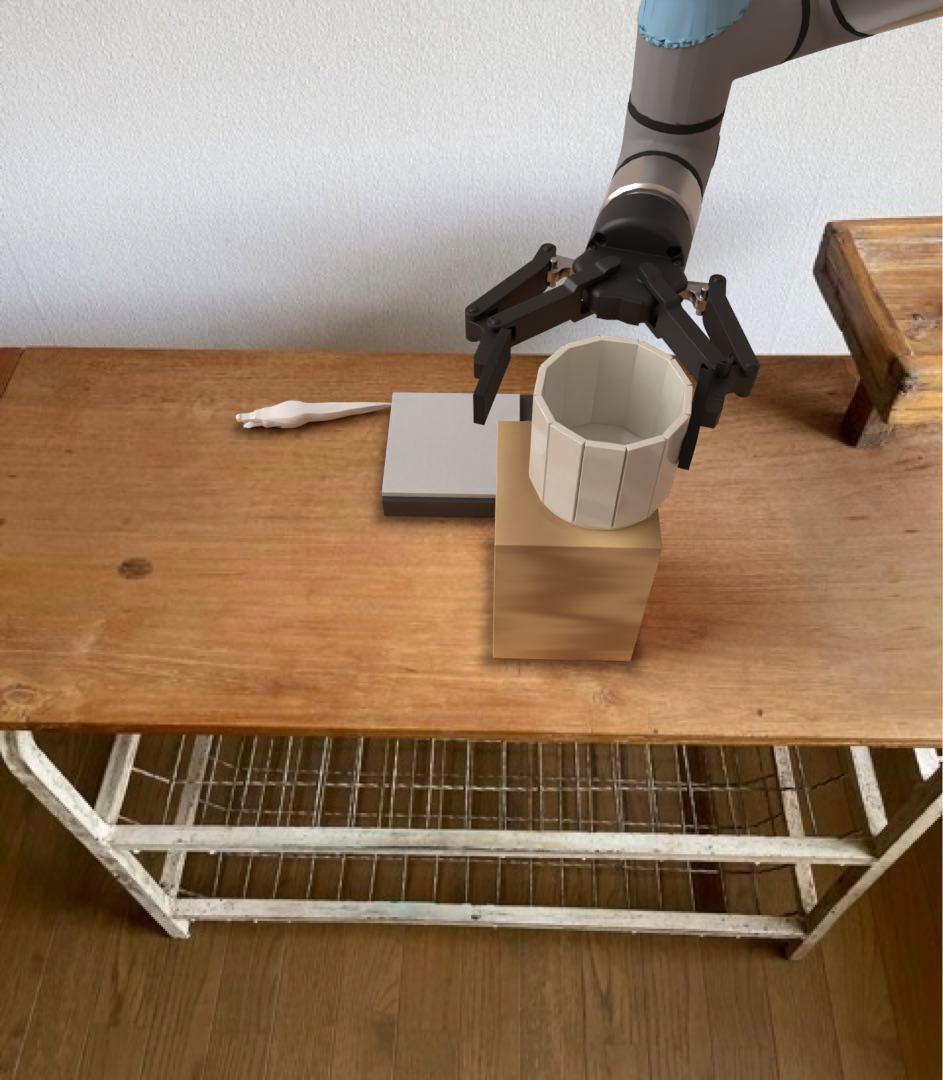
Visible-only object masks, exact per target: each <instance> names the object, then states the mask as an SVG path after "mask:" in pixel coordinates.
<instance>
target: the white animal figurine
mask: <svg viewBox="0 0 943 1080" xmlns="http://www.w3.org/2000/svg"><path fill="white" fill-rule="evenodd" d="M391 405H392V402H382V401H381V402H375V401H352V402H351V401H350V402H349V401H347V402H346V401H345V402H344V401H343V402H342V401H341V402H340V401H339V402H338V401H328V402H327V401H326V402H325V401H324V402H304V401H302V400H292V399H291V400H290V399H289V400H286V401H285V400H284V401H283V402H280V403H277V404H275V405H272V406H266V407H263V408H258V409H254V410H253V411H251V412H244V413H243V412H242V413H237V414H236V415H235V420H236V421H237V422H238V423H243V429H252V428H255V427H264V428H266V429H267V428H273V427H274V428H280V429H295V428H300V427H302V426H304V425H306V424H308V423H310V422H311V423H312V422H323V421H333V420H336V419H341V418H345V417H349V416H354V415H362V414H367V413H372V412H375V411H379V410H383V409H386V408H389V407H390V408H391Z"/></svg>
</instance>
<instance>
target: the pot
mask: <svg viewBox="0 0 943 1080" xmlns="http://www.w3.org/2000/svg"><path fill="white" fill-rule="evenodd" d="M693 392H694V386H693V383H692V381H691V380H690V378H689V377H688V375H687V374H686V373H685V370H683V368H682V366H681V365H680V364H679V362H678V360H677V358H674V356H672V355H671V354H669V353H667V352H665V351H663V350H662V349H659V348H657V347H656V346H654V345H652V344H651V343H648V342H646V341H644V340H641V341H640V339H639V338H630V337H622V336H614V335H605V334H602V335H594V336H590V337H587V338H583V339H579V340H576V341H572V342H568V343H567V342H566V343H565V345H561V346H560V347H559V348H558V349H557V350H556V351H555V352H553V354H552V355H550V356H549V357H548V358H546V359H545V360H544V361H543V362H542V363H541V364H540V366H539V367H538V370H537V375H536V381H535V385H534V390H533V394H532V395H533V412H532V429H531V445H530V462H529V478H530V480H531V482H532V484H533V486H534V488H535V490H536V492H537V494H538V496H539V498H540V500H541V502H542V503H544V505H545V506H546V507H547V508H548V509H549V510H550V511H551V512H553V513H554V514H555V515H557V516H558V517H559V518H561V519H563V520H565V521H566V522H569V523H571V524H573V525H576V526H579V527H582V528H587V529H592V530H616V529H622V528H626V527H629V526H632V525H635V524H637V523H639V522H641V521H643V520H645V519H646V518H647V517H648V518H649V517H650V516H651V515H652V514H653V513H654V511H655V510H656V509H657V508H658V509H659V508H660V507H661V505H663V503H664V502H665V501H666V500H667V499H668V498H669V496H670V494H671V490H672V486H673V484H674V479H675V475H676V472H677V469H678V468H677V466H678V462H679V457H680V454H681V450H682V446H683V442H684V439H685V435H686V431H687V428H688V424H689V420H690V416H691V408H692V401H693V395H694V393H693Z"/></svg>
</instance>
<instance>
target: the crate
mask: <svg viewBox="0 0 943 1080" xmlns="http://www.w3.org/2000/svg"><path fill="white" fill-rule="evenodd" d="M531 429H532V421H497V456H496V504H495V518H494V555H493V557H494V559H493V561H494V562H493V565H494V566H493V567H494V568H493V618H492V619H493V622H492V623H493V624H492V625H493V626H492V634H493V635H492V658H493V659H517V660H555V661H556V660H558V661H559V660H560V661H561V660H565V661H602V662H603V661H604V662H609V661H610V662H631V661H632V657H633V655H634V649H635V647H636V643H637V640H638V636H639V633H640V629H641V627H642V626H641V625H642V622H643V618H644V615H645V611H646V607H647V605H648V600H649V597H650V593H651V590H652V587H653V583H654V579H655V576H656V572H657V569H658V565H659V561H660V558H661V555H662V552H663V541H662V539H663V538H662V530H661V522H660V521H661V520H660V511H659V507H658V508H657V509H656V510H655V511H654V513H653V514H652V515H651V516H650V517H649V518H648V517H647V518H646V519H645V520H643V521H641V522H639V523H637V524H635V525H632V526H629V527H626V528H622V529H616V530H592V529H587V528H582V527H579V526H576V525H573V524H571V523H569V522H566V521H565V520H563V519H561V518H559V517H558V516H557V515H555V514H554V513H553V512H551V511H550V510H549V509H548V508H547V507H546V506H545V505H544V503H542V502H541V500H540V498H539V496H538V494H537V492H536V490H535V488H534V486H533V484H532V482H531V480H530V478H529V462H530V445H531Z"/></svg>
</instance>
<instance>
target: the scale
mask: <svg viewBox="0 0 943 1080" xmlns="http://www.w3.org/2000/svg"><path fill="white" fill-rule="evenodd" d="M473 393H474V392H472V393H471V392H410V391H409V392H406V391H405V392H404V391H398V392H397V391H393V392H392V397H391V403H392V405H391V406H390V413H389V424H388V432H387V433H388V434H387V441H386V452H385V460H384V467H383V468H384V469H383V477H382V479H383V480H382V487H381V495H382V498H381V504H382V510H383V516H386V517H387V516H388V517H431V518H432V517H433V518H435V517H436V518H443V517H444V518H482V519H483V518H484V519H485V518H487V519H489V518H490V519H493V518H494V519H495V504H496V456H497V421H532V412H533V395H534V394H520V393H497V395H496V397H495V400H494V402H493V405H492V407H491V410H490V412H489V415H488V417H487V420H486V422H485V425H480V424H476V423H473Z"/></svg>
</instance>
